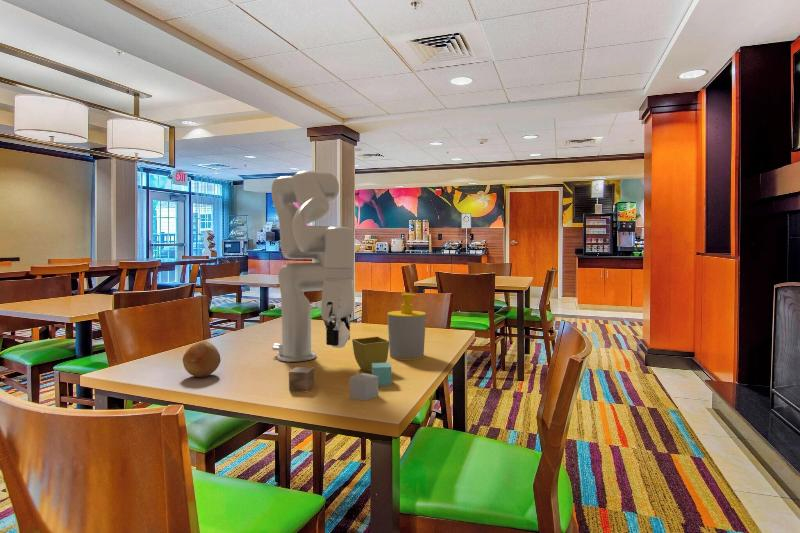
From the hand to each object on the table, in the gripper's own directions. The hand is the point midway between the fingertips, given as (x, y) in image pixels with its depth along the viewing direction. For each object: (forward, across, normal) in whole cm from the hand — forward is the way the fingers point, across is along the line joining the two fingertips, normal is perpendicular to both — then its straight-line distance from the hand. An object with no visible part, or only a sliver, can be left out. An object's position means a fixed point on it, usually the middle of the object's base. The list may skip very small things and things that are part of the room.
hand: (338, 341), depth 122 cm
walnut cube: (+12, +5, -8) cm, 15 cm away
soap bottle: (+13, -38, +7) cm, 41 cm away
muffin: (+1, 0, 0) cm, 1 cm away
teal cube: (+12, -6, +10) cm, 17 cm away
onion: (+13, +4, -41) cm, 43 cm away
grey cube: (+12, +6, +10) cm, 16 cm away
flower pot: (+13, -18, +2) cm, 22 cm away
